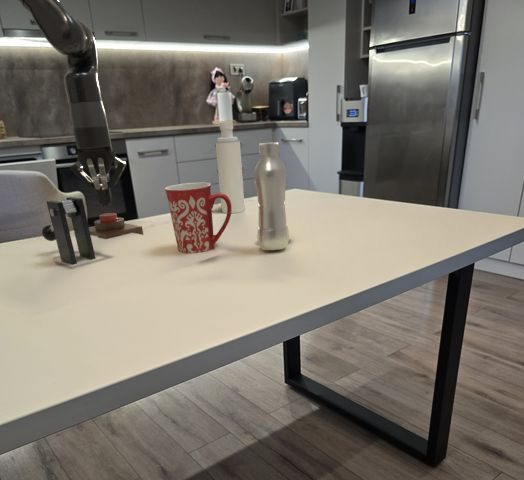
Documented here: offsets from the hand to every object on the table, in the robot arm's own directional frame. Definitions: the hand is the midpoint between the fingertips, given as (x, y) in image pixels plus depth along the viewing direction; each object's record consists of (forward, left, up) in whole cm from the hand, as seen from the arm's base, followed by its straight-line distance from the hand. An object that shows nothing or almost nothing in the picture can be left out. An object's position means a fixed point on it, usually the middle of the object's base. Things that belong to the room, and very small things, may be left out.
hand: (106, 205), depth 114 cm
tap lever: (+13, -18, -1) cm, 22 cm away
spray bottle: (+5, +37, -8) cm, 38 cm away
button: (0, 0, -4) cm, 4 cm away
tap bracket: (+17, -18, -8) cm, 26 cm away
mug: (+33, +1, -8) cm, 34 cm away
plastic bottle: (+43, +11, -8) cm, 45 cm away
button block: (0, 0, -8) cm, 8 cm away
